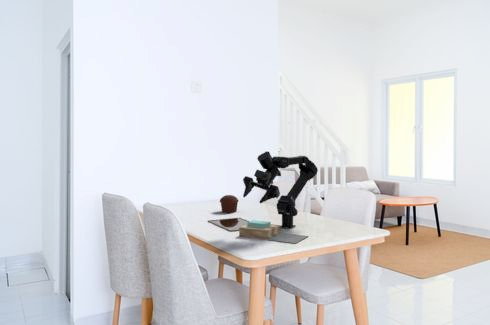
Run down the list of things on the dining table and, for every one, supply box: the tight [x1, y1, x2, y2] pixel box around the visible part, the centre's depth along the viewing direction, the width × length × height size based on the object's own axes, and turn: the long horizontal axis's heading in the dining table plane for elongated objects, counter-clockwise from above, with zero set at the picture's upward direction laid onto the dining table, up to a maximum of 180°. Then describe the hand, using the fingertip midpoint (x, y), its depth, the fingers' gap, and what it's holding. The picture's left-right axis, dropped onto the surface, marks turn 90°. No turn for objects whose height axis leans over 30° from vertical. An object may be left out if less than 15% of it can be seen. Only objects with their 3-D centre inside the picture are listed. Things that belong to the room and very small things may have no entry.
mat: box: [266, 232, 309, 245], centre depth 189 cm, size 15×13×1 cm
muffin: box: [219, 194, 239, 214], centre depth 258 cm, size 12×11×10 cm
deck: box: [238, 224, 281, 241], centre depth 196 cm, size 14×14×4 cm
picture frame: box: [207, 217, 250, 233], centre depth 220 cm, size 19×1×28 cm
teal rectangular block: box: [247, 219, 271, 228], centre depth 196 cm, size 6×9×2 cm, turn 60°
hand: (251, 199), depth 194 cm, fingers open, 9 cm apart
